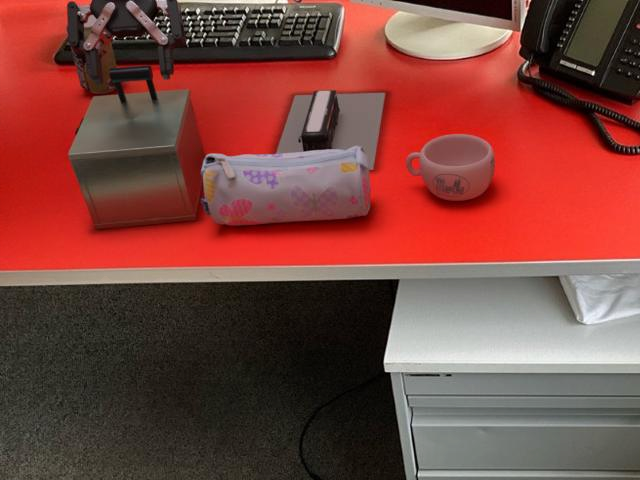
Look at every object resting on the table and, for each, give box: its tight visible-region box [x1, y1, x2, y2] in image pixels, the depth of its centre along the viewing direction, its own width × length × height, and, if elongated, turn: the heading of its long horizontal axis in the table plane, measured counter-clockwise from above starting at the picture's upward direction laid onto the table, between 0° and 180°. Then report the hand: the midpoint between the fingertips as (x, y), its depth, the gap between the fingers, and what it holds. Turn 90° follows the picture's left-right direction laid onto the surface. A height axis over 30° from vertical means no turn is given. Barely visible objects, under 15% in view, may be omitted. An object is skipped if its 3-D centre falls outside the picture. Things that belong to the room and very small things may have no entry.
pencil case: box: [200, 146, 371, 227], centre depth 113 cm, size 21×9×10 cm, turn 92°
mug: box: [405, 133, 496, 202], centre depth 119 cm, size 12×10×6 cm
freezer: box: [69, 97, 207, 230], centre depth 118 cm, size 16×13×10 cm
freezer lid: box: [67, 64, 192, 161], centre depth 113 cm, size 16×13×5 cm
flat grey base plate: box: [275, 89, 386, 171], centre depth 133 cm, size 14×25×4 cm, turn 2°
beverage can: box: [65, 15, 118, 95], centre depth 142 cm, size 6×7×12 cm
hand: (132, 79), depth 116 cm, fingers open, 8 cm apart
